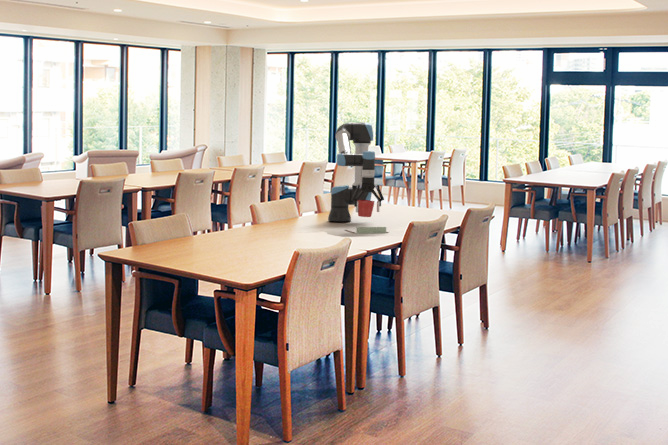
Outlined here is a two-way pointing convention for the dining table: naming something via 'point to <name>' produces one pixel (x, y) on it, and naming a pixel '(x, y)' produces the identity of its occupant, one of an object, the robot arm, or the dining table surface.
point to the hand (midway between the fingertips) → (367, 212)
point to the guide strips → (354, 232)
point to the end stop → (370, 229)
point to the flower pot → (365, 208)
